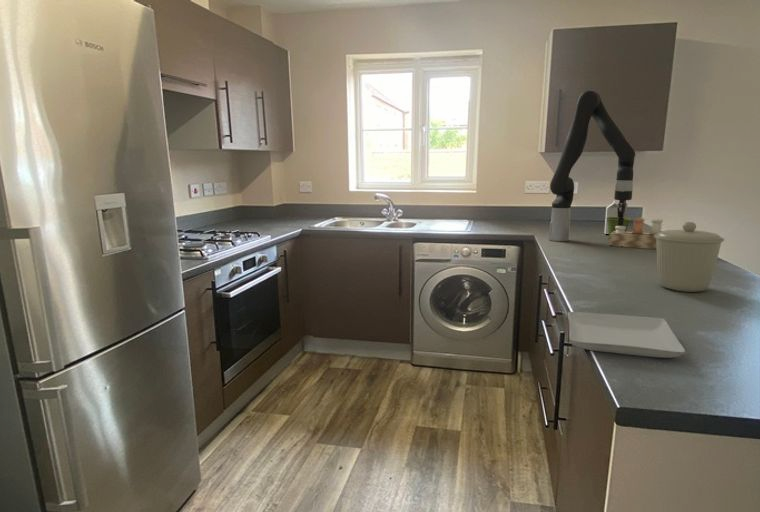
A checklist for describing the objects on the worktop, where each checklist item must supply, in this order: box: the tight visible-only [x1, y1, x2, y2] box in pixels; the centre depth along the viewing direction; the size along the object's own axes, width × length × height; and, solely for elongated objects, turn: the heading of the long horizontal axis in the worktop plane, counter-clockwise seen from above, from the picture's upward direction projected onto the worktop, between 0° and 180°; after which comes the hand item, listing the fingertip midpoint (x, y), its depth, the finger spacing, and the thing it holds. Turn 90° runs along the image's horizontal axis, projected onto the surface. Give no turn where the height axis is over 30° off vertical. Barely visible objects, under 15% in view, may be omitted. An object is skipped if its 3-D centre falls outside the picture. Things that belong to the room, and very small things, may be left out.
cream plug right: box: [650, 218, 664, 235], centre depth 215 cm, size 5×5×8 cm
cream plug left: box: [615, 226, 626, 234], centre depth 224 cm, size 5×5×8 cm
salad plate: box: [567, 311, 686, 359], centre depth 102 cm, size 21×21×3 cm
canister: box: [654, 221, 725, 293], centre depth 143 cm, size 18×18×21 cm
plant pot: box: [605, 217, 632, 239], centre depth 241 cm, size 12×12×11 cm
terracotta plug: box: [632, 217, 645, 235], centre depth 220 cm, size 5×5×8 cm
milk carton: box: [604, 200, 619, 235], centre depth 257 cm, size 7×7×19 cm
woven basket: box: [609, 231, 657, 250], centre depth 221 cm, size 22×10×6 cm, turn 55°
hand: (620, 225), depth 224 cm, fingers closed
